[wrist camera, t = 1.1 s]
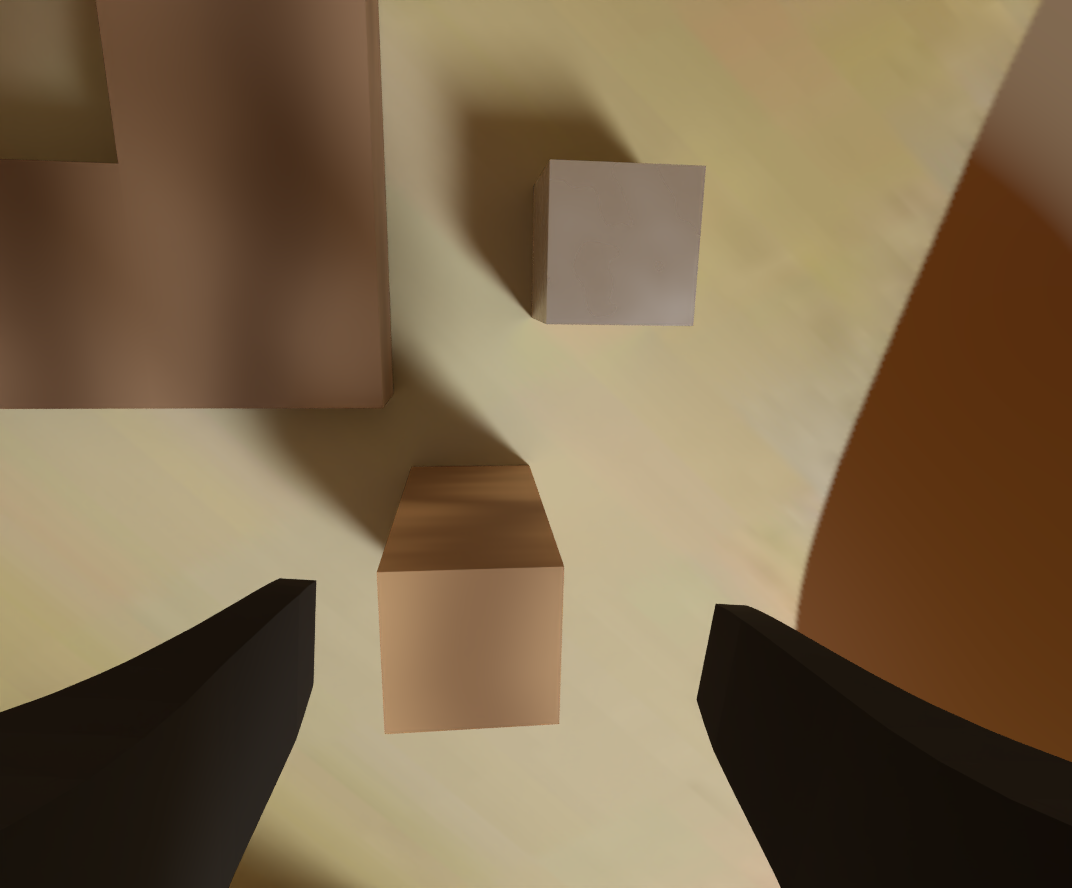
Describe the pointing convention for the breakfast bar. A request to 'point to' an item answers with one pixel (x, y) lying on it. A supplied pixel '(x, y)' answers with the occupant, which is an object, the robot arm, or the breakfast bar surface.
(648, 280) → the steel stub
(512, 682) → the oak pin
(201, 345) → the hole plate
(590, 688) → the breakfast bar surface
